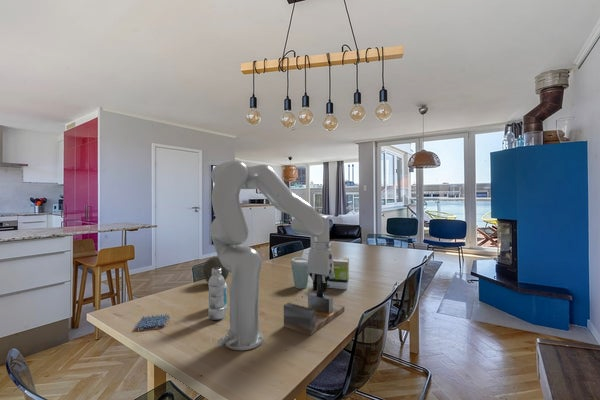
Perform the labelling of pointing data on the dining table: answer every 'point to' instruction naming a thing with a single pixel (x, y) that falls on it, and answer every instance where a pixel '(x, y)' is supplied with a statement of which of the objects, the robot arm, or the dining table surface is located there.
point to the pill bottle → (224, 296)
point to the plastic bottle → (216, 295)
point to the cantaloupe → (214, 263)
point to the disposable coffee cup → (300, 272)
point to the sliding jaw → (320, 298)
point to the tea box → (339, 274)
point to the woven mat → (152, 322)
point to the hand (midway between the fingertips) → (320, 290)
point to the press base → (318, 321)
